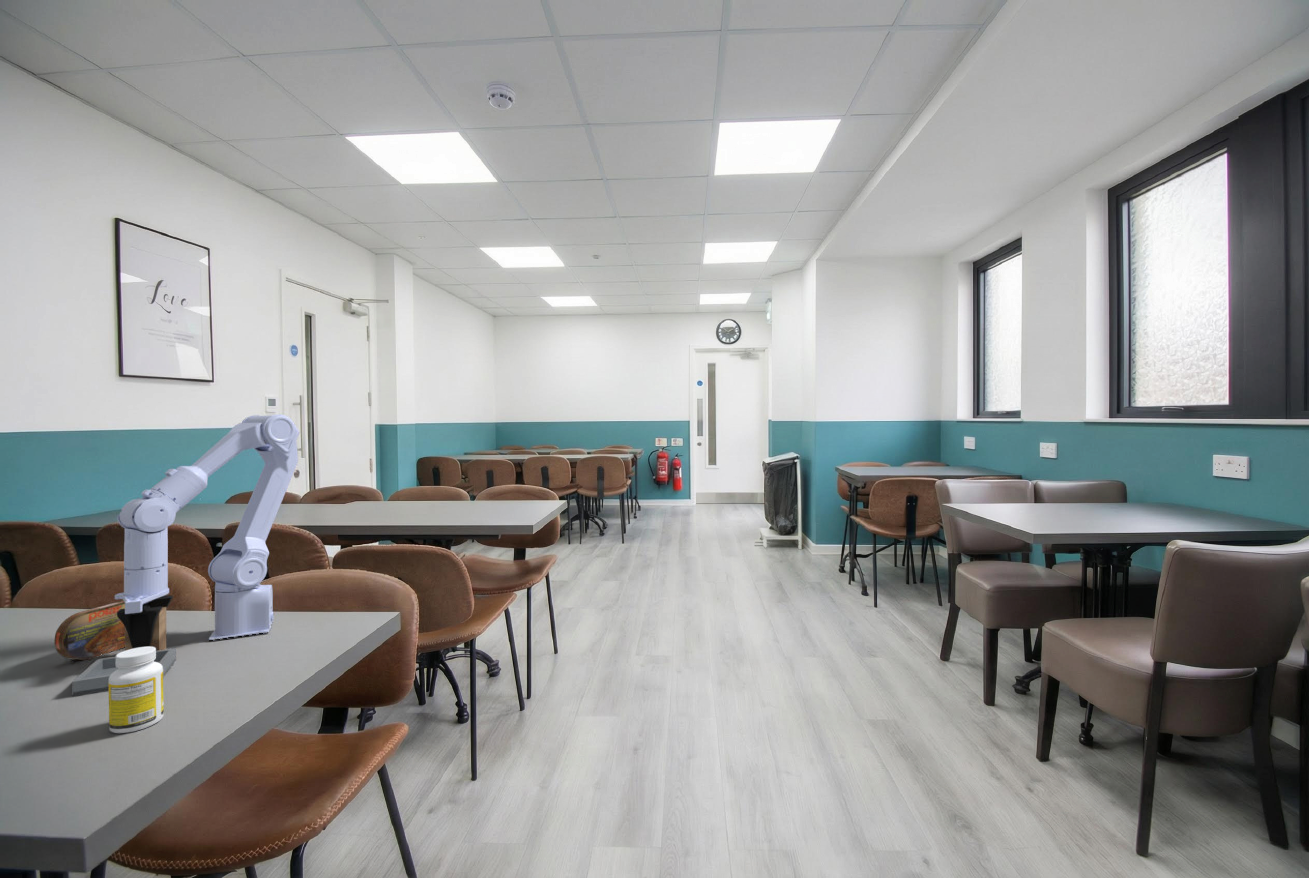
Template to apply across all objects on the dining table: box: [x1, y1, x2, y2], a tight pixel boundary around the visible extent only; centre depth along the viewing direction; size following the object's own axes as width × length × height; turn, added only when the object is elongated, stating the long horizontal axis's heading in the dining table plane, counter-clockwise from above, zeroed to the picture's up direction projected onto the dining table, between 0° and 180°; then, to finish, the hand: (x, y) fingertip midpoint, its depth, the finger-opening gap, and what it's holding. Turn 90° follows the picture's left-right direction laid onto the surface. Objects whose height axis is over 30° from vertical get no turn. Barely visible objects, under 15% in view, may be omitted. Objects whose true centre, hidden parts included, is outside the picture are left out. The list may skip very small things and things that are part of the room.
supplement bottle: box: [108, 646, 165, 734], centre depth 75 cm, size 5×5×10 cm
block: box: [124, 607, 167, 651], centre depth 98 cm, size 4×4×8 cm
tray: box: [71, 647, 177, 697], centre depth 90 cm, size 10×10×2 cm
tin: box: [54, 600, 125, 661], centre depth 102 cm, size 15×3×8 cm, turn 168°
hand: (146, 643), depth 98 cm, fingers closed on block, 4 cm apart
